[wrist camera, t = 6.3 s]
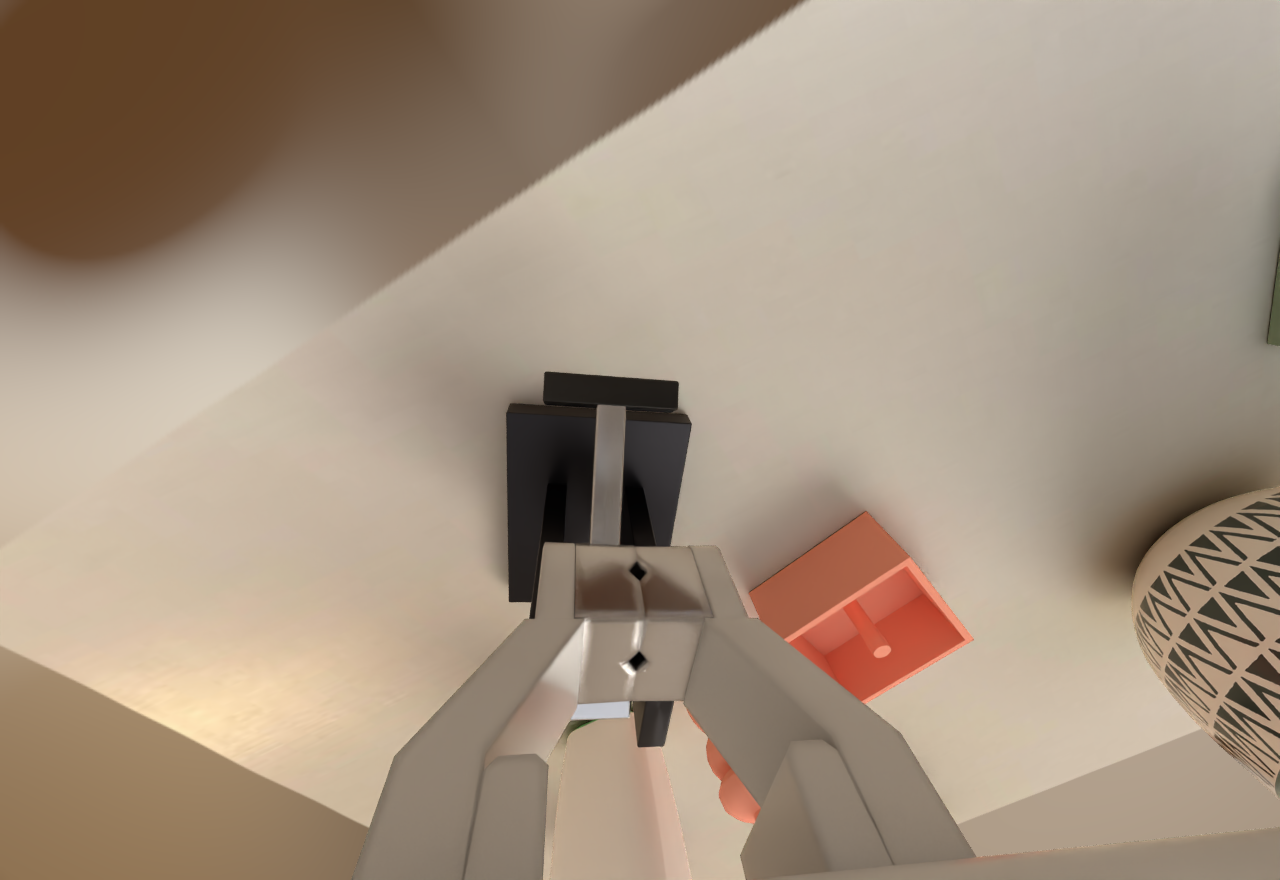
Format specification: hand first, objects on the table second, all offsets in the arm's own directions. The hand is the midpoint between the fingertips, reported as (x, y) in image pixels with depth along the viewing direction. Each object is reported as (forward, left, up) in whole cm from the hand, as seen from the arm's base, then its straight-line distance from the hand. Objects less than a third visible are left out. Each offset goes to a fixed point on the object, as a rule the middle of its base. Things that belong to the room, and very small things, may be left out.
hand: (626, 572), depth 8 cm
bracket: (+4, -8, -15) cm, 18 cm away
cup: (+16, -25, -16) cm, 34 cm away
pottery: (+21, -10, -16) cm, 28 cm away
